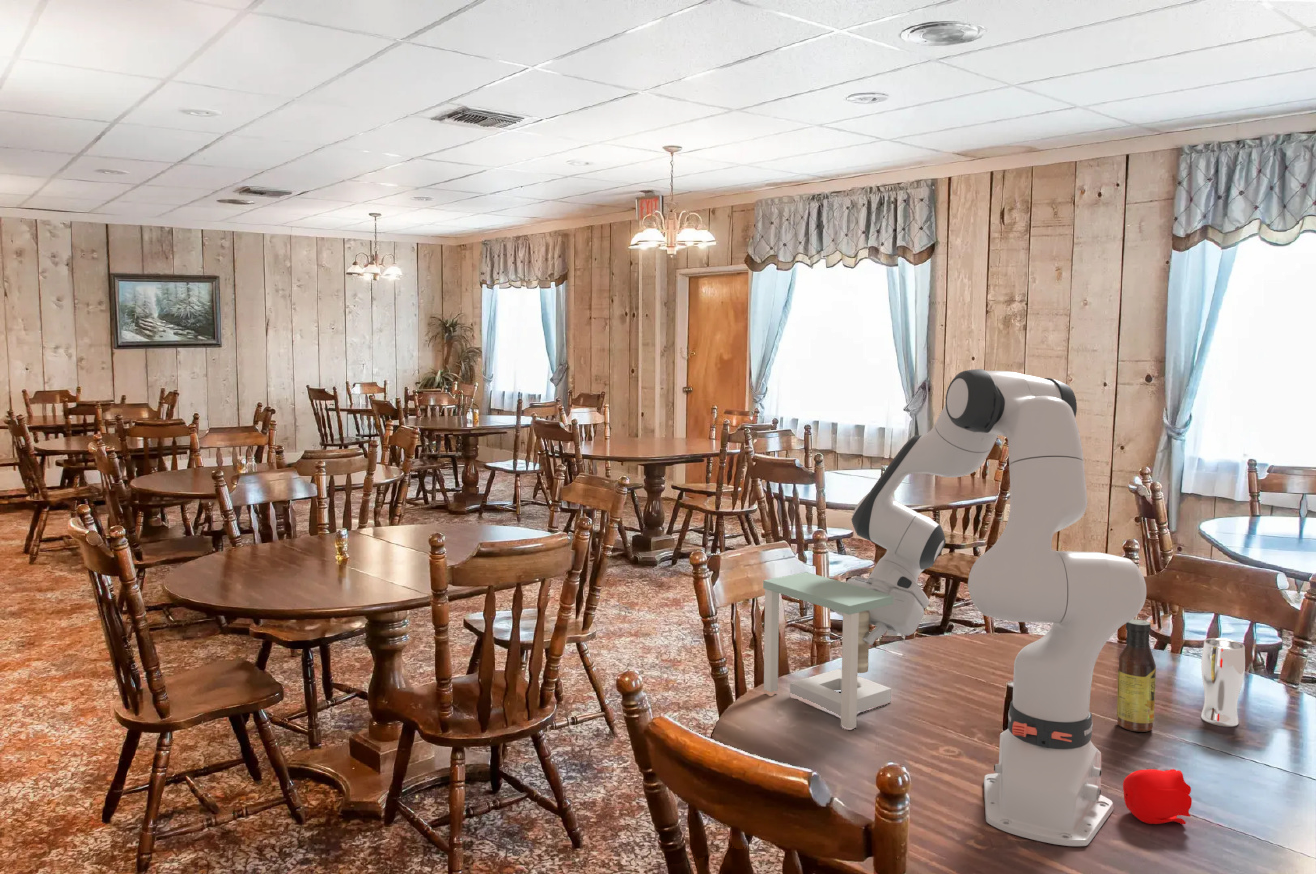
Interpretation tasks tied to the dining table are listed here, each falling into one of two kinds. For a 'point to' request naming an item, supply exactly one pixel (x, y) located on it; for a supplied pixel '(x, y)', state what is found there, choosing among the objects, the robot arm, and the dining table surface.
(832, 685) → the socket plate
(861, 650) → the birch peg
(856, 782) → the dining table surface
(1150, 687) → the sauce bottle
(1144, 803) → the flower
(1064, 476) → the robot arm
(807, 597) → the small side table
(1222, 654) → the beer glass
